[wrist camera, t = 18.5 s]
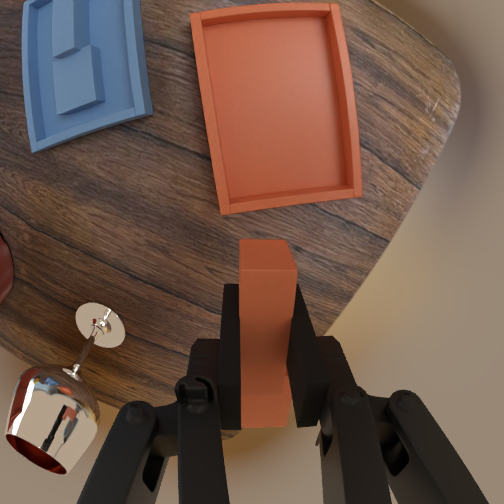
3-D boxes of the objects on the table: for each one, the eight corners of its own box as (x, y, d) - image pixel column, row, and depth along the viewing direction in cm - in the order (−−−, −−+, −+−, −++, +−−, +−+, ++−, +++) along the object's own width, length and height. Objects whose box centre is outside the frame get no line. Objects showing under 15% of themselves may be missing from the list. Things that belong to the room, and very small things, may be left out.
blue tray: (137, -38, 16) (130, -49, 13) (153, 114, 22) (145, 114, 20) (35, 7, 16) (23, 2, 14) (45, 150, 22) (31, 153, 20)
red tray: (330, 12, 19) (338, 3, 17) (352, 190, 26) (362, 197, 23) (193, 23, 19) (189, 13, 17) (222, 207, 26) (220, 215, 24)
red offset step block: (219, 238, 14) (215, 269, 11) (304, 239, 14) (321, 269, 11) (225, 405, 19) (224, 442, 16) (283, 404, 19) (288, 440, 16)
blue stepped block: (61, 5, 16) (44, -4, 13) (97, -12, 16) (83, -23, 13) (68, 115, 21) (49, 116, 18) (106, 101, 21) (89, 99, 18)
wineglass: (60, 321, 30) (-11, 435, 14) (87, 279, 28) (-5, 409, 12) (113, 361, 33) (66, 486, 16) (146, 327, 31) (97, 475, 14)
